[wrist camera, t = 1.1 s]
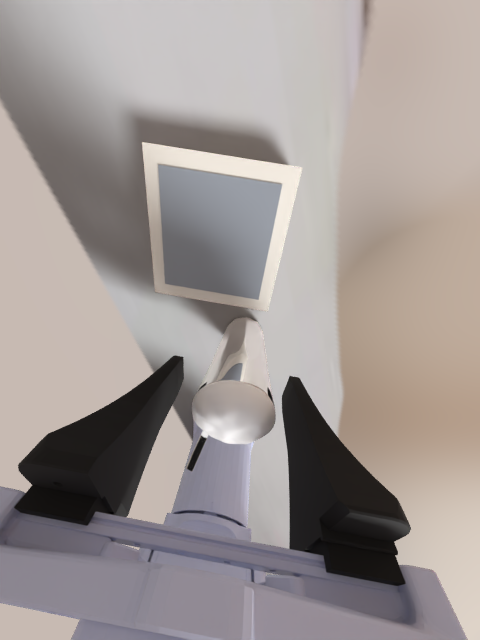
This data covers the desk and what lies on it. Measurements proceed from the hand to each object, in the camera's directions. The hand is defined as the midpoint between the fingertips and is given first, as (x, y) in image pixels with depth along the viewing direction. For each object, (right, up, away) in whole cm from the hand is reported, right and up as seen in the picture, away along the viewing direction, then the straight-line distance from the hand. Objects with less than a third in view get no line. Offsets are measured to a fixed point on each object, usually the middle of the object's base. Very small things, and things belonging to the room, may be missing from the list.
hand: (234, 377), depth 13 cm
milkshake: (+1, +3, +5) cm, 6 cm away
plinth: (-1, +10, +1) cm, 10 cm away
